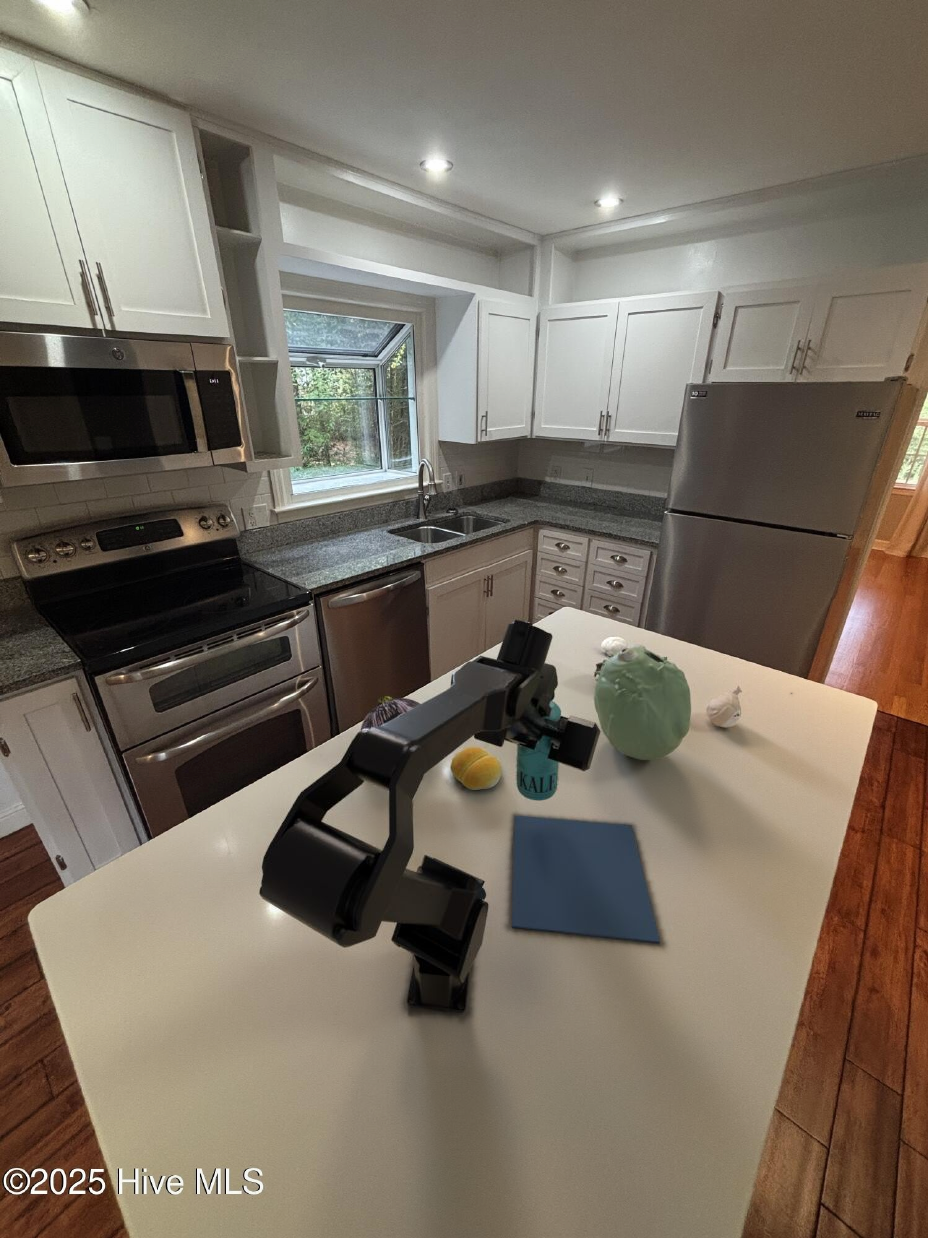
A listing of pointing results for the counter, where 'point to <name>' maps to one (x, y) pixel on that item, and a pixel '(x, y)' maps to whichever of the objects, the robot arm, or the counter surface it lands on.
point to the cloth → (580, 880)
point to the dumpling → (613, 645)
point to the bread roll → (476, 768)
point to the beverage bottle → (538, 765)
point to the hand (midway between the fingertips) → (540, 738)
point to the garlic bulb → (725, 709)
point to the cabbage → (642, 703)
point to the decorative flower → (387, 711)
